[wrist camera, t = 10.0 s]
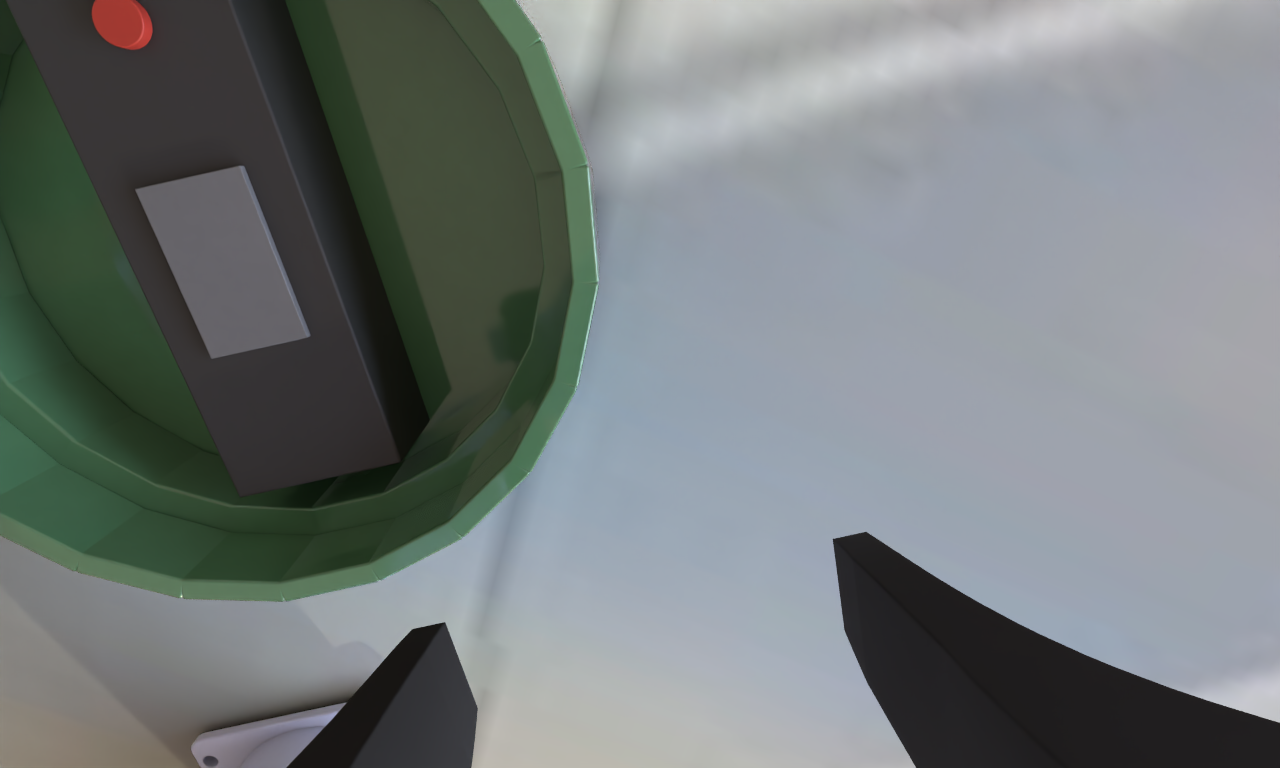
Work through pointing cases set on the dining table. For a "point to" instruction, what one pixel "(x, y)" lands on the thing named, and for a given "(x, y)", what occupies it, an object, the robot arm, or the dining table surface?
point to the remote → (235, 227)
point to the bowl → (412, 278)
